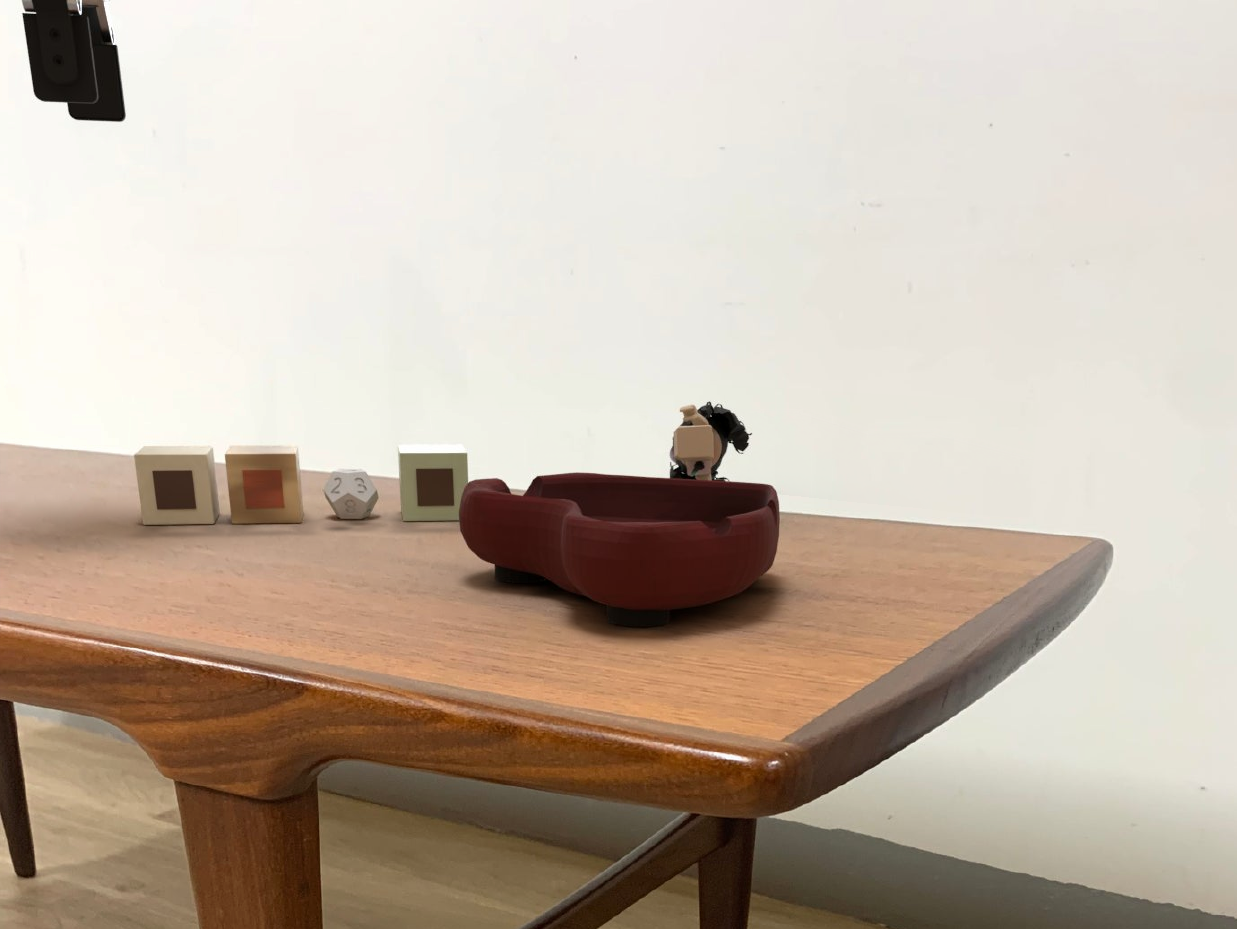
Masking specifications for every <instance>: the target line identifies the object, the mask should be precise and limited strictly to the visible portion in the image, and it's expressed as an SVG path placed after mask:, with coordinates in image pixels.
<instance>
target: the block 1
mask: <svg viewBox="0 0 1237 929" xmlns="http://www.w3.org/2000/svg"><path fill="white" fill-rule="evenodd" d="M133 457H134V465H135V474H136V480H137V487H138V488H137V489H138V496H139V504H140V511H141V518H142V525H143V526H173V525H174V526H176V525H177V526H178V525H179V526H180V525H184V526H185V525H214V524H215V523H216V521H217V520H218V518H219V515H220V514H221V509H220V508H221V507H220V498H219V489H218V482H217V480H218V479H217V471H216V462H215V453H214V446H213V445H145V446H143V447H141V448H140V449H139V450H138V451H136V452H135V453H134V454H133Z"/></svg>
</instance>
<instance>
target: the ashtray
mask: <svg viewBox="0 0 1237 929" xmlns="http://www.w3.org/2000/svg"><path fill="white" fill-rule="evenodd" d="M780 514H781V513H780V501H779V497H778V492H777V490H776V489H775V487H774V486H773V485H771V484H769V483H768V484H767V483H759V482H744V481H731V480H729V481H728V480H725V481H713V480H695V479H676V478H670V477H655V476H654V477H652V476H639V475H624V474H608V473H607V474H605V473H597V472H577V471H576V472H565V473H555V474H554V473H553V474H543V475H536V477H535V478H533V479H532V481H531V483H530V484H529V486H528V487H527V489H526V491H525V492H524V493H523V495H520V494H516V493H515V494H514V493H512V492H511V490H510V487H509V486H508V485H507V483H506V482H505V481H504V480H503V479H501V478H497V477H494V478H493V477H492V478H478V479H476V478H475V479H473V480H470V481H468V484H467V485H466V486H465V488H464V491H463V494H462V496H461V502H460V507H459V532H460V533H461V536H462V538H463V539H464V542H465V544H466V546H467V548H468V549H469V550H470V551H471V552H472V553H473V554H474V555H476V557H478V559H480V560H482V561H483V562H486V563H488V564H491V565H494V579H496V580H497V581H501V582H506V583H512V584H513V583H515V584H531V583H540V582H545V581H547V580H548V581H550V582H552V583H553V584H555V585H556V586H557V587H559V588H561V589H563V590H565V591H567V592H570V593H572V594H576V595H580V596H585V597H587V598H589V599H590V600H592V601H593V602H597V603H599V604H602V605H606V620H607V621H608V622H609V623H611V624H614V625H617V626H623V627H632V628H633V627H634V628H644V627H645V628H647V627H657V626H661V625H665V624H667V623H669V621H670V614H671V612H670V611H671V610H681V609H682V610H683V609H687V608H694V607H699V606H704V605H708V604H712V603H715V602H718V601H721V600H725V599H728V598H732V597H733V596H735V595H738V594H740V593H742V592H744V591H745V590H746V589H748V588H749V587H751V586H752V584H753V583H755V582H756V581H757V580H758V579H759V578H761V577H763V576H764V575H765V574H766V573H767V572H769V571H770V569H771V568H772V566H773V565H774V562H775V558H776V555H777V552H778V545H779V538H780V524H781V520H780V519H781V517H780Z"/></svg>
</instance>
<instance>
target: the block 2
mask: <svg viewBox="0 0 1237 929" xmlns="http://www.w3.org/2000/svg"><path fill="white" fill-rule="evenodd" d="M299 452H300V451H299V446H298V445H295V444H293V445H230V446H229V447H228V449H227V450H226V451H225V453H224V460H225V470H226V480H227V490H228V498H229V499H228V500H229V507H230V508H229V510H230V518H231V524H233V525H239V524H240V525H245V524H246V525H247V524H249V525H250V524H251V525H252V524H253V525H254V524H255V525H256V524H301V523H302V521H303V516H304V500H303V488H302V487H303V486H302V478H301V476H302V475H301V465H300V453H299Z"/></svg>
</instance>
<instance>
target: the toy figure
mask: <svg viewBox="0 0 1237 929" xmlns="http://www.w3.org/2000/svg"><path fill="white" fill-rule="evenodd" d="M679 413H682V414H683V418H682V422H681V424H680V425H679V426H677V428H676V429H675V430H674V431H673V436H672V445H671V447H670V449H669V458H670V460H671V461H670V462H669V467H670V468H669V478H676V479H695V480H713V481H730V479H729V478H727V477H724V476H722V477H716V476H717V475H719V471H718V469H719V467H721V464H722V460H723V458H724V457H725V455H726V454H727V451H728V447H729V444H732V446H733V448H734V450H735V452H737V453H738V454H741V455H742V454H744V452H745V451H746V449H747V448H748V447H749V445H750V443H749V442H748V441H749V440H750V436H752V435H753V433H752V432H750V433H748V432H747V429H746V426H745V424H744V422H743V421H741V420H739V418H738V416H737V415H736V413H734V412H732V411H731V410H730V409H727V408H726V407H725V408H724V407H723V405H722V404H720V403H717V404H715V405H714V406H713V405H712V402H711V401H707V402H706V404H705V405H702V406H701V407H699V408H698V409H697V406H696V405H694V404H689V405H685V406H681V407H680V408H679ZM672 462H673V463H674V464H673V465H672ZM675 466H676V467H675ZM674 467H675V468H674Z"/></svg>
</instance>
